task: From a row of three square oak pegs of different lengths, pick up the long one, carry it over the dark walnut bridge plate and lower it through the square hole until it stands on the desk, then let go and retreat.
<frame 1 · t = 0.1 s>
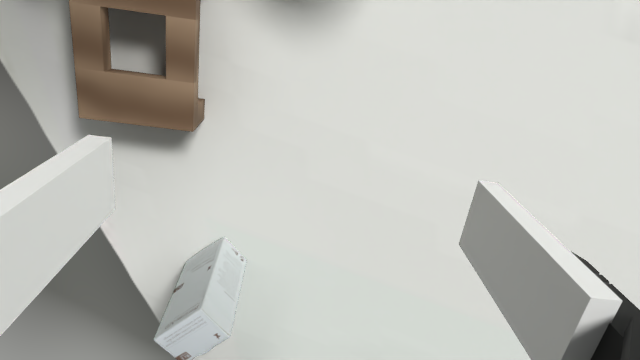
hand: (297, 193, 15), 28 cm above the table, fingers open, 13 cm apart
skincare box: (217, 260, 49), on the table
bridge: (152, 39, 39), on the table
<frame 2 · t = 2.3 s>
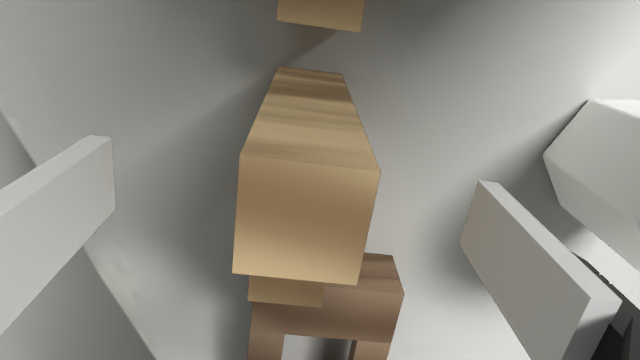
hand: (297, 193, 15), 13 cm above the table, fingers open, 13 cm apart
peg mid: (294, 197, 30), on the table
jar: (602, 153, 29), on the table
bridge: (315, 320, 35), on the table
peg long: (306, 101, 27), on the table
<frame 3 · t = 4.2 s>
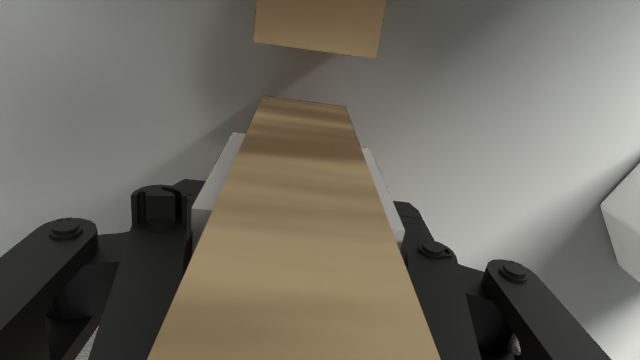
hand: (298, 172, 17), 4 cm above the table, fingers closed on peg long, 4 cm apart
peg long: (299, 140, 21), on the table, touching gripper
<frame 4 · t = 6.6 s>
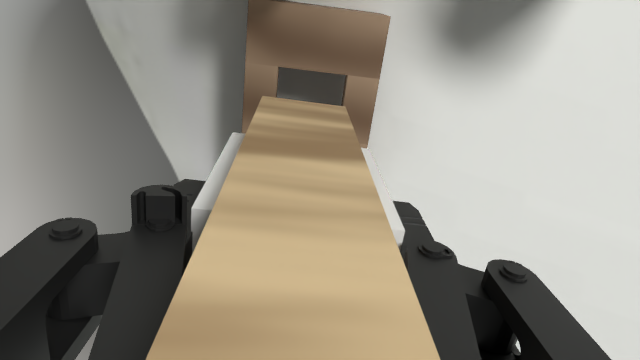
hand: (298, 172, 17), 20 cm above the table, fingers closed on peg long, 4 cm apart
bridge: (309, 92, 36), on the table
peg long: (299, 140, 21), point 16 cm above the table, touching gripper
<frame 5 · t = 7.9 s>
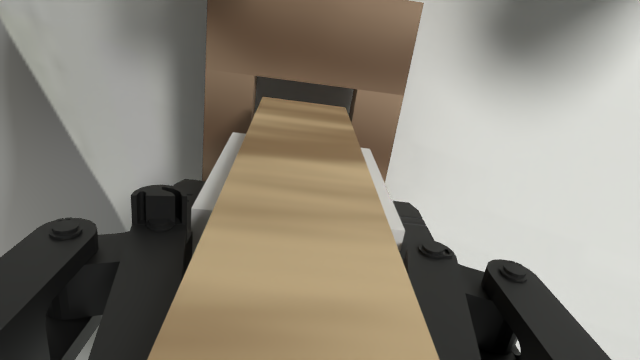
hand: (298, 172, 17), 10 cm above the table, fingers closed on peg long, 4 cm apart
bridge: (301, 111, 26), on the table
peg long: (299, 141, 21), point 6 cm above the table, touching gripper
when the fingers open (6 cm above the table, at t = 9.0 s): peg long drops 2 cm, on the table.
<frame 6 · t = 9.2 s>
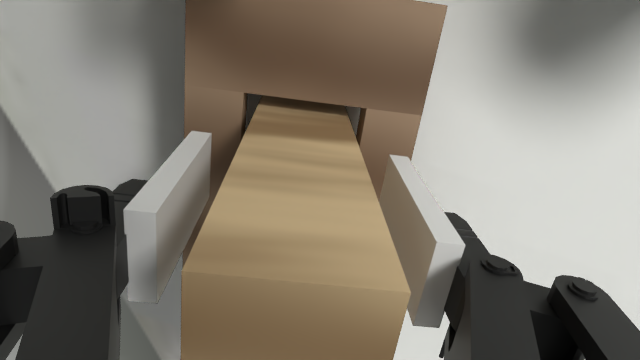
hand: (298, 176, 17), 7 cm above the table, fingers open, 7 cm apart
bridge: (299, 129, 23), on the table
peg long: (299, 129, 23), on the table
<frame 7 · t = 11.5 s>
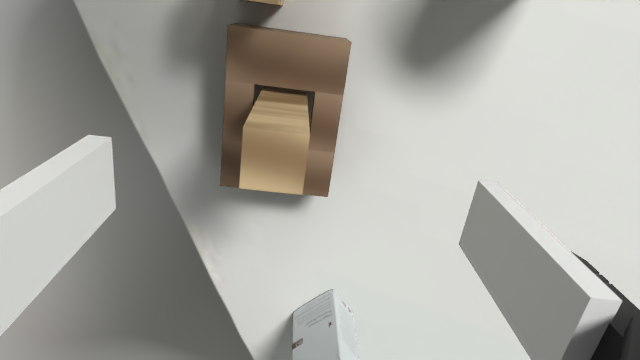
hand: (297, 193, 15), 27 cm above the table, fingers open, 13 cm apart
skincare box: (322, 310, 50), on the table
bridge: (283, 106, 41), on the table
peg long: (283, 106, 41), on the table
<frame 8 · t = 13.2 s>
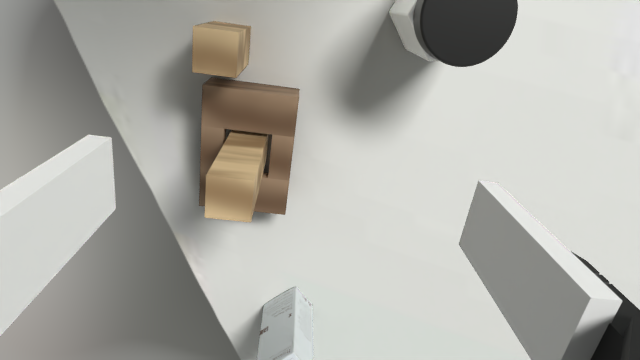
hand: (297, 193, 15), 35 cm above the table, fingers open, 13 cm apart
peg mid: (231, 43, 46), on the table
skincare box: (288, 304, 61), on the table
jar: (429, 12, 46), on the table
bridge: (251, 141, 51), on the table
peg long: (251, 141, 51), on the table
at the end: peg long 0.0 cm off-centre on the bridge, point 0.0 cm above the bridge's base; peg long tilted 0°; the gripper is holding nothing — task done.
